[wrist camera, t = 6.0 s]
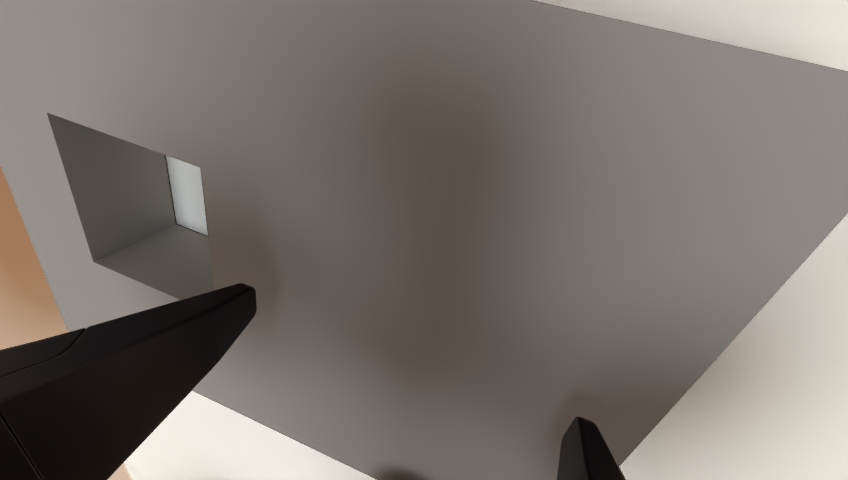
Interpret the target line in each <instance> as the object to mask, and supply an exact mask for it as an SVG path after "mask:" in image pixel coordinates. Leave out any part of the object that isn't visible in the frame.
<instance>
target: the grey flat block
mask: <svg viewBox="0 0 848 480" xmlns="http://www.w3.org/2000/svg"><path fill="white" fill-rule="evenodd" d="M165 155H167V156H170V157H173V158H176V159H178V160H181V161H184V162H187V163H190V164H192V165H195V166H198V167H200V168H201V176H202V185H203V194H204V203H205V212H206V221H207V230H208V237H207V236H205V235H202V234H200V233H197V232H194V231H192V230H189V229H187V228H184V227H182V226H179V225H177V224H176V222H175V216H174V210H173V203H172V197H171V191H170V185H169V179H168V173H167V166H166V160H165ZM0 166H1V168H2V171H3V173H4V175H5V178H6V181H7V183H8V186H9V188H10V191H11V193H12V195H13V198H14V200H15V203H16V205H17V208H18V210H19V213H20V215H21V218H22V220H23V223H24V225H25V227H26V230H27V232H28V235H29V237H30V240H31V242H32V245H33V247H34V249H35V252H36V254H37V257H38V259H39V262H40V264H41V267H42V269H43V272H44V274H45V277H46V279H47V282H48V284H49V286H50V289H51V292H52V294H53V297H54V299H55V301H56V304H57V306H58V308H59V311H60V314H61V316H62V319H63V321H64V324H65V326H66V329H67V330H68V331H70V332H71V331H75V330H78V329H82V328H87V327H89V326H92V325H96V324H99V323H103V322H106V321H110V320H113V319H116V318H120V317H123V316H127V315H130V314H134V313H137V312H141V311H144V310H148V309H151V308H155V307H158V306H162V305H165V304H169V303H172V302H176V301H179V300H182V299H186V298H189V297H193V296H196V295H200V294H203V293H207V292H210V291H214V290H217V289H221V288H224V287H228V286H231V285H234V284H238V283H244V284H247V285H249V286H252V287H254V288H255V290H256V304H257V310H256V314H255V316H254V317H253V319H252V320H251V321H250V323H249V324H248V325H247V327H246V328H245V329H244V330H243V332H242V333H241V334H240V336H239V337H238V338H237V339H236V341H235V342H234V343H233V345H232V346H231V347H230V348H229V350H228V351H227V352H226V354H225V355H224V356H223V357H222V358H221V360H220V361H219V362H218V363H217V364H216V365H215V366H214V367H213V369H212V370H211V371H210V372H209V373H208V374H207V375H206V376H205V377H204V378H203V379H202V380H201V381H200V382H199V383H198V384H197V385H196V386H195V388H194V389H193V390H192V391H194V392H196V393H198V394H200V395H203V396H205V397H207V398H209V399H211V400H213V401H215V402H217V403H219V404H221V405H223V406H225V407H227V408H230V409H232V410H234V411H236V412H238V413H240V414H242V415H244V416H246V417H248V418H250V419H252V420H254V421H257V422H259V423H261V424H263V425H265V426H267V427H269V428H271V429H273V430H275V431H277V432H279V433H281V434H283V435H286V436H288V437H290V438H292V439H294V440H296V441H298V442H300V443H302V444H304V445H306V446H308V447H310V448H313V449H315V450H317V451H319V452H321V453H323V454H325V455H327V456H329V457H331V458H333V459H335V460H337V461H340V462H342V463H344V464H346V465H348V466H350V467H352V468H354V469H356V470H358V471H360V472H362V473H364V474H367V475H369V476H371V477H373V478H375V479H377V480H557V473H558V465H559V456H560V447H561V441H562V438H563V435H564V434H565V432H566V431H567V429H568V428H569V426H570V424H571V423H572V421H573V420H574V418H575V417H577V416H580V417H583V418H585V419H588V420H590V421H592V422H594V423H595V424H596V425H597V427H598V429H599V431H600V433H601V434H602V436H603V438H604V440H605V442H606V444H607V446H608V447H609V449H610V451H611V453H612V455H613V457H614V459H615V460H616V462H617V464H618V466H620V465H621V464H622V463H623V462H624V460H625V459H626V458H627V457H628V456H629V455H630V454H631V453H632V452H633V450H634V449H635V448H636V447H637V446H638V445H639V444H640V443H641V442H642V440H643V439H644V438H645V437H646V436H647V435H648V434H649V433H650V432H651V430H652V429H653V428H654V427H655V426H656V425H657V424H658V423H659V422H660V421H661V419H662V418H663V417H664V416H665V415H666V414H667V413H668V412H669V411H670V409H671V408H672V407H673V406H674V405H675V404H676V403H677V402H678V401H679V399H680V398H681V397H682V396H683V395H684V394H685V393H686V392H687V391H688V389H689V388H690V387H691V386H692V385H693V384H694V383H695V382H696V381H697V380H698V378H699V377H700V376H701V375H702V374H703V373H704V372H705V371H706V370H707V368H708V367H709V366H710V365H711V364H712V363H713V362H714V361H715V360H716V358H717V357H718V356H719V355H720V354H721V353H722V352H723V351H724V350H725V349H726V347H727V346H728V345H729V344H730V343H731V342H732V341H733V340H734V339H735V337H736V336H737V335H738V334H739V333H740V332H741V331H742V330H743V329H744V327H745V326H746V325H747V324H748V323H749V322H750V321H751V320H752V319H753V317H754V316H755V315H756V314H757V313H758V312H759V311H760V310H761V309H762V308H763V306H764V305H765V304H766V303H767V302H768V301H769V300H770V299H771V298H772V296H773V295H774V294H775V293H776V292H777V291H778V290H779V289H780V288H781V286H782V285H783V284H784V283H785V282H786V281H787V280H788V279H789V278H790V277H791V275H792V274H793V273H794V272H795V271H796V270H797V269H798V268H799V267H800V265H801V264H802V263H803V262H804V261H805V260H806V259H807V258H808V257H809V255H810V254H811V253H812V252H813V251H814V250H815V249H816V248H817V247H818V245H819V244H820V243H821V242H822V241H823V240H824V239H825V238H826V237H827V236H828V234H829V233H830V232H831V231H832V230H833V229H834V228H835V227H836V226H837V224H838V223H839V222H840V221H841V220H842V219H843V218H844V217H845V216H846V214H847V213H848V71H844V70H839V69H835V68H831V67H826V66H822V65H817V64H813V63H808V62H804V61H799V60H795V59H791V58H786V57H782V56H777V55H773V54H768V53H764V52H759V51H755V50H750V49H746V48H742V47H737V46H733V45H728V44H724V43H719V42H715V41H710V40H706V39H701V38H697V37H693V36H688V35H684V34H679V33H675V32H670V31H666V30H661V29H657V28H652V27H648V26H644V25H639V24H635V23H630V22H626V21H621V20H617V19H612V18H608V17H604V16H599V15H595V14H590V13H586V12H581V11H577V10H572V9H568V8H563V7H559V6H555V5H550V4H546V3H541V2H537V1H532V0H0Z"/></svg>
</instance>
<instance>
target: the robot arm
mask: <svg viewBox="0 0 848 480" xmlns="http://www.w3.org/2000/svg"><path fill="white" fill-rule="evenodd" d="M256 310H257V304H256V290H255V288H254V287H252V286H249V285H247V284H244V283H238V284H234V285H231V286H228V287H224V288H221V289H217V290H214V291H210V292H207V293H203V294H200V295H196V296H193V297H189V298H186V299H182V300H179V301H176V302H172V303H169V304H165V305H162V306H158V307H155V308H151V309H148V310H144V311H141V312H137V313H134V314H130V315H127V316H123V317H120V318H116V319H113V320H110V321H106V322H103V323H99V324H96V325H92V326H89V327H87V328H82V329H78V330H75V331H71V332H68V333H65V334H61V335H57V336H53V337H50V338H46V339H42V340H39V341H35V342H31V343H27V344H23V345H19V346H14V347H10V348H6V349H3V350H0V480H107V479H108V478H109V477H110V476H111V475H112V474H113V473H114V472H115V471H116V470H117V468H119V467H120V466H121V464H122V463H123V462H124V461H125V460H126V459H127V458H128V457H129V456H130V455H131V454H132V453H133V452H134V451H135V450H136V449H137V448H138V447H139V446H140V445H141V443H142V442H143V441H144V440H145V439H146V438H147V437H148V436H149V435H150V434H151V433H152V432H153V431H154V430H155V429H156V428H157V427H158V426H159V424H160V423H161V422H162V421H163V420H164V419H165V418H166V417H167V416H168V415H169V414H170V413H171V412H172V411H173V410H174V409H175V408H176V407H177V405H178V404H179V403H180V402H181V401H182V400H183V399H184V398H185V397H186V396H187V395H188V394H189V393H190V392H191V391H192V390H193V389H194V388H195V386H196V385H197V384H198V383H199V382H200V381H201V380H202V379H203V378H204V377H205V376H206V375H207V374H208V373H209V372H210V371H211V370H212V369H213V367H214V366H215V365H216V364H217V363H218V362H219V361H220V360H221V358H222V357H223V356H224V355H225V354H226V352H227V351H228V350H229V348H230V347H231V346H232V345H233V343H234V342H235V341H236V339H237V338H238V337H239V336H240V334H241V333H242V332H243V330H244V329H245V328H246V327H247V325H248V324H249V323H250V321H251V320H252V319H253V317H254V316H255V314H256ZM557 480H626V479H625V477H624V475H623V473H622V472H621V470H620V468H619V466H618V464H617V462H616V460H615V459H614V457H613V455H612V453H611V451H610V449H609V447H608V446H607V444H606V442H605V440H604V438H603V436H602V434H601V433H600V431H599V429H598V427H597V425H596V424H595V423H594V422H592V421H590V420H588V419H585V418H583V417H580V416H577V417H575V418H574V420H573V421H572V423H571V424H570V426H569V428H568V429H567V431H566V432H565V434H564V435H563V438H562V441H561V447H560V456H559V465H558V473H557Z"/></svg>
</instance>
